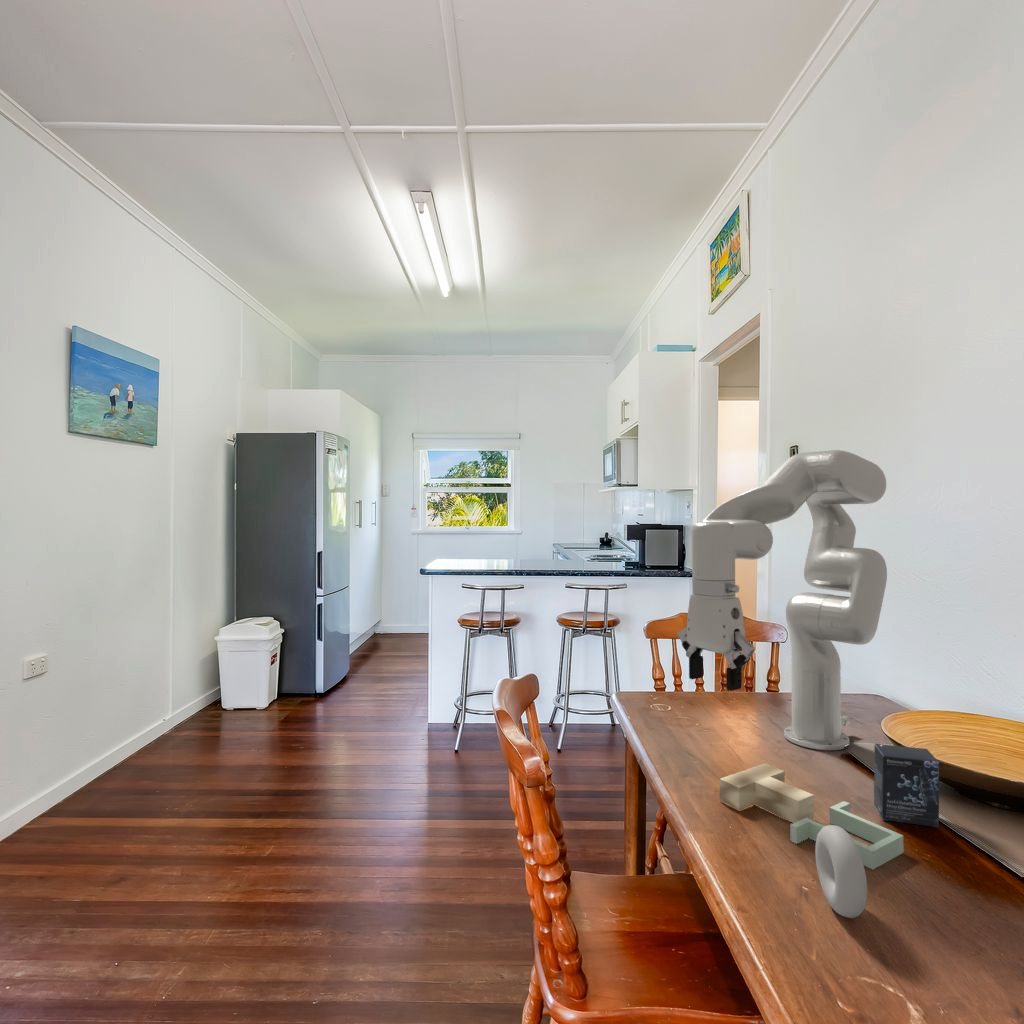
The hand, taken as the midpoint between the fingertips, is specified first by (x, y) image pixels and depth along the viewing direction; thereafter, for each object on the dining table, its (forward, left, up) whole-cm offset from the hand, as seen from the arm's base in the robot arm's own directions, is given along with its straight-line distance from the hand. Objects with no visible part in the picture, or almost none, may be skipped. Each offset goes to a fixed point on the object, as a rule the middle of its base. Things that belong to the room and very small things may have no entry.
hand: (714, 683), depth 112 cm
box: (-15, +25, -18) cm, 35 cm away
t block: (0, +12, -18) cm, 22 cm away
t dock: (0, +25, -18) cm, 31 cm away
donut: (+16, +33, -18) cm, 41 cm away
